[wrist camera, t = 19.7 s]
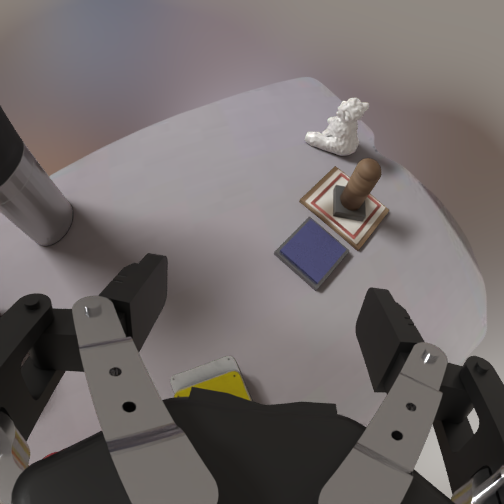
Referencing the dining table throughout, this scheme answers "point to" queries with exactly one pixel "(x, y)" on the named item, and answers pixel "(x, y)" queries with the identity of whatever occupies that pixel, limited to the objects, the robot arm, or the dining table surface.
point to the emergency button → (212, 379)
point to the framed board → (349, 230)
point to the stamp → (356, 191)
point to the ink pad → (311, 253)
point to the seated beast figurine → (340, 129)
